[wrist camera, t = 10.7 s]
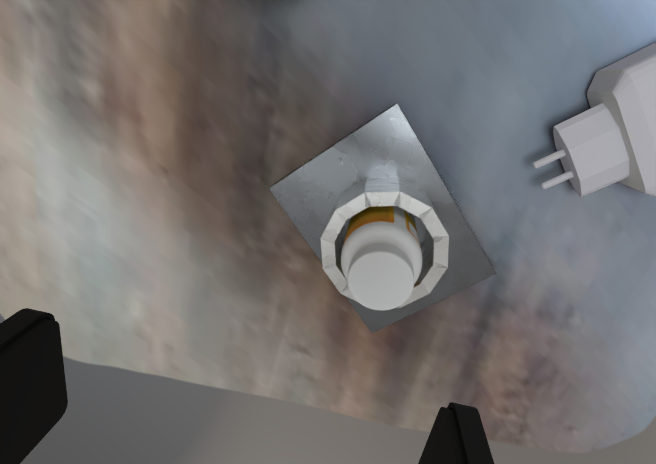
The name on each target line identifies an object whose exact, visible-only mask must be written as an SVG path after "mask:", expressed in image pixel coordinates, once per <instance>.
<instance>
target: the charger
mask: <svg viewBox="0 0 656 464" xmlns="http://www.w3.org/2000/svg"><path fill="white" fill-rule="evenodd" d="M587 98H588V101H589V104H590V107H591V109H589V110H587V111H585V112H583V113H580V114H578V115H576V116H574V117H572V118H570V119H568V120H566V121H564V122H562V123H560V124H557V125H555V126H554V128H553V134H554V141H555V146H556V149H557V152H555V153H552V154H550V155H548V156H546V157H544V158H542V159H539V160H537V161H535V162H533V167H534V168H535V169H537V168H539V167H541V166H544V165H546V164H548V163H550V162H552V161H555V160H557V159H559V158H560V160H561V162H562V165H563V168H564V170H565V173H563V174H561V175H559V176H557V177H554V178H552V179H550V180H548V181H545V182H543V183H541V187H542V189H544V190H545V189H547V188H549V187H552V186H554V185H556V184H558V183H561V182H563V181H565V180H568V179H569V180H570V182H571V184H572V186H573V187H574V189H575V191H576V192H577V194H578V195H579V196H580V197H583V196H585V195H587V194H590V193H592V192H595V191H597V190H599V189H602V188H604V187H606V186H609V185H611V184H613V183H616V182H619V183H621V184H624V185H626V186H628V187H631V188H633V189H635V190H638V191H640V192H643V193H645V194H648V195H652V196H655V197H656V42H655V43H653V44H651V45H649V46H647V47H645V48H643V49H641V50H639V51H637V52H635V53H633V54H631V55H629V56H627V57H625V58H623V59H621V60H619V61H617V62H615V63H613V64H611V65H609V66H607V67H605V68H603V69H601V70H599V71H597V72H596V74H595V76H594V78H593V80H592V82H591V84H590V87H589V89H588V91H587Z"/></svg>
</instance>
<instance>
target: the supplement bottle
mask: <svg viewBox="0 0 656 464" xmlns="http://www.w3.org/2000/svg"><path fill="white" fill-rule="evenodd" d="M341 266H342V271H343V273H344V276H345V278H346V279H347V284H348V288H349V291H350V293H351V294H352V296H353V297H354V299H355V300H356V301H357V302H359V303H360V304H361V305H363V306H365V307H367V308H370V309H373V310H390V309H394V308H396V307H398V306H400V305H402V304H403V303H404V302H405V301H406V300H407V299H408V298H409V296H410V295H411V293H412V291H413V287H414V284H415V282H416V281H417V279H418V277H419V275H420V272H421V268H422V252H421V247H420V243H419V237H418V233H417V228H416V223H415V220H414V217H413V215H412V214H411V213H410V212H408V211H406V210H404V209H402V208H400V207H398V206H373V207H368V208H366V209H364V210H362V211H361V212H359V213H357V214H356V215H354V216H352V217H351V219H350V221H349V225H348V229H347V233H346V237H345V241H344V245H343V248H342V253H341Z"/></svg>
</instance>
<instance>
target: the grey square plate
mask: <svg viewBox="0 0 656 464" xmlns="http://www.w3.org/2000/svg"><path fill="white" fill-rule="evenodd" d="M269 189H270V191H271V192H272V193H273V195H274V196H275V198H276V199H277V201H278V202H279V203H280V205H281V206H282V208H283V209H284V210H285V212H286V213H287V215H288V216H289V217H290V219H291V220H292V222H293V223H294V224H295V226H296V227H297V229H298V230H299V231H300V233H301V234H302V236H303V237H304V238H305V240H306V241H307V243H308V244H309V246H310V247H311V248H312V250H313V251H314V253H315V254H316V255H317V257H318V258H319V260H320V261H321V262H322V264H323V270H324V271H325V272H326V274H327V275H328V277H329V278H330V279H331V281H332V282H333V284H334V285H335V286H336V288H337V289H338V291H339V292H340V293H341V294H343V295H345V296H346V298H347V299H348V300H349V302H350V303H351V305H352V306H353V307H354V309H355V310H356V312H357V313H358V314H359V316H360V317H361V319H362V320H363V321H364V323H365V324H366V326H367V327H368V328H369V330H370V331H371V333H373V332H376V331H378V330H380V329H382V328H384V327H386V326H388V325H390V324H392V323H394V322H396V321H398V320H400V319H403V318H405V317H407V316H409V315H411V314H413V313H415V312H417V311H419V310H421V309H423V308H425V307H427V306H430V305H432V304H434V303H436V302H438V301H440V300H442V299H444V298H446V297H448V296H450V295H452V294H454V293H457V292H459V291H461V290H463V289H465V288H467V287H469V286H471V285H473V284H475V283H477V282H479V281H482V280H484V279H486V278H488V277H490V276H492V275H494V274H496V272H495V270H494V268H493V267H492V265H491V263H490V262H489V260H488V258H487V256H486V255H485V253H484V251H483V250H482V248H481V246H480V244H479V243H478V241H477V239H476V238H475V236H474V234H473V233H472V231H471V229H470V227H469V226H468V224H467V222H466V221H465V219H464V217H463V215H462V214H461V212H460V210H459V209H458V207H457V205H456V204H455V202H454V200H453V198H452V197H451V195H450V193H449V192H448V190H447V188H446V186H445V185H444V183H443V181H442V180H441V178H440V176H439V174H438V173H437V171H436V169H435V168H434V166H433V164H432V163H431V161H430V159H429V157H428V156H427V154H426V152H425V151H424V149H423V147H422V145H421V144H420V142H419V140H418V139H417V137H416V135H415V134H414V132H413V130H412V128H411V127H410V125H409V123H408V122H407V120H406V118H405V116H404V115H403V113H402V111H401V110H400V108H399V106H398V105H397V103H396V104H394V105H393V106H391V107H390V108H388V109H387V110H385V111H384V112H382V113H381V114H379V115H378V116H376V117H375V118H373V119H372V120H370V121H369V122H367V123H366V124H364V125H363V126H361V127H360V128H358V129H357V130H355V131H354V132H352V133H351V134H349V135H348V136H346V137H345V138H343V139H341V140H340V141H338V142H337V143H335V144H334V145H332V146H331V147H329V148H328V149H326V150H325V151H323V152H322V153H320V154H319V155H317V156H316V157H314V158H313V159H311V160H310V161H308V162H307V163H305V164H304V165H302V166H301V167H299V168H298V169H296V170H295V171H293V172H292V173H290V174H289V175H287V176H286V177H284V178H283V179H281V180H280V181H278V182H277V183H275V184H274V185H272V186H271V187H270V188H269ZM373 206H398V207H400V208H402V209H404V210H406V211H408V212H410V213H411V214H412V215H413V217H414V220H415V223H416V228H417V233H418V237H419V243H420V247H421V252H422V268H421V272H420V275H419V277H418V279H417V281H416V282H415V284H414V287H413V291H412V293H411V295H410V296H409V298H408V299H407V300H406V301H405V302H404V303H403V304H402V305H400V306H398V307H396V308H394V309H390V310H373V309H370V308H367V307H365V306H363V305H361V304H360V303H359V302H357V301H356V300H355V299H354V297H353V296H352V294H351V293H350V291H349V288H348V284H347V279H346V278H345V276H344V273H343V271H342V266H341V253H342V248H343V245H344V241H345V237H346V233H347V229H348V225H349V221H350V219H351V217H352V216H354V215H356V214H357V213H359V212H361V211H362V210H364V209H366V208H368V207H373Z"/></svg>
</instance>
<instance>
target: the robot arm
mask: <svg viewBox="0 0 656 464" xmlns="http://www.w3.org/2000/svg"><path fill="white" fill-rule="evenodd" d="M67 403H68V400H67V391H66V382H65V374H64V364H63V355H62V345H61V336H60V327H59V323H58V322H57V321H55V319H54V316H53V315H52V314H50V313H46V312H42V311H37V310H33V309H28V308H26V309H22V310H20V311H18V312H17V313H15V314H14V315H12V316H11V317H9V318H8V319H6V320H5V321H3V322H2V323H0V464H20V463H21V462H22V461H23V459H24V458H25V457H26V456H27V455H28V454H29V453H30V452H31V451H32V450H33V449H34V447H35V446H36V445H37V444H38V443H39V442H40V441H41V440H42V438H43V437H44V436H45V435H46V434H47V433H48V432H49V431H50V430H51V428H52V427H53V426H54V425H55V424H56V423H57V422H58V421H59V420H60V418H61V417H62V416H63V414H64V413H65V410H66V408H67ZM418 464H494V462H493V458H492V455H491V452H490V448H489V445H488V442H487V438H486V435H485V432H484V428H483V425H482V422H481V418H480V415H479V412H478V410H477V409H476V408H475V407H470V406H466V405H461V404H457V403H450V404H449V405H448V407H447V408H445V407H441V408H440V410H439V412H438V415H437V417H436V420H435V422H434V425H433V427H432V430H431V433H430V435H429V438H428V440H427V443H426V446H425V448H424V451H423V453H422V456H421V458H420V461H419V463H418Z"/></svg>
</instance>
